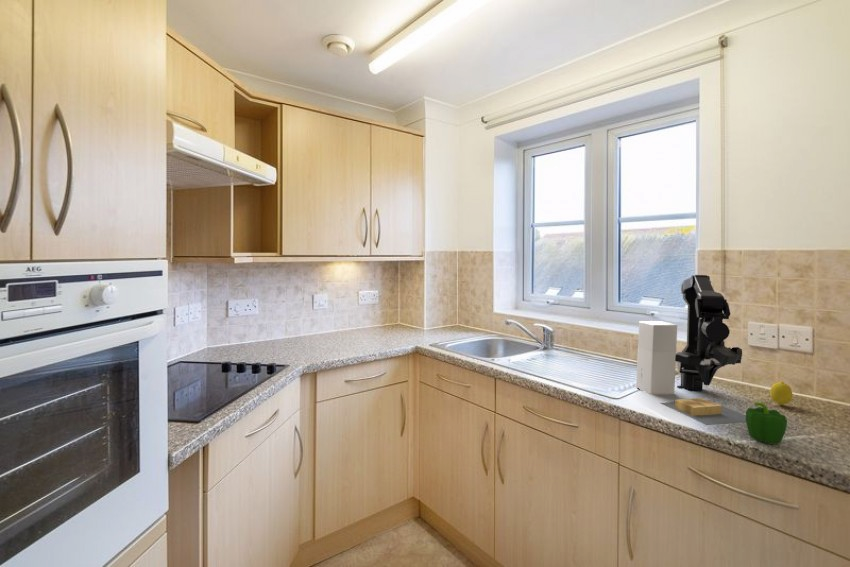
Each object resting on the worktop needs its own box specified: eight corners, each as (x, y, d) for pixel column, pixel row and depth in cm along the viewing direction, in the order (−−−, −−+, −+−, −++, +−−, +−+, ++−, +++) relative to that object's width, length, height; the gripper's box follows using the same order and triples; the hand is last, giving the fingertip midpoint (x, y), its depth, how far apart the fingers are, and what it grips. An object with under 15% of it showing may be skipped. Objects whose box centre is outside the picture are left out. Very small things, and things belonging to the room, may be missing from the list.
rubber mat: (659, 404, 135) (659, 402, 135) (707, 401, 138) (707, 399, 138) (706, 426, 117) (706, 424, 117) (759, 422, 120) (759, 420, 120)
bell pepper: (787, 440, 109) (789, 403, 108) (784, 450, 103) (786, 411, 102) (747, 431, 115) (749, 395, 114) (742, 440, 109) (744, 403, 108)
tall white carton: (635, 388, 152) (638, 321, 150) (658, 387, 153) (661, 320, 151) (650, 396, 143) (653, 324, 142) (674, 395, 144) (677, 324, 142)
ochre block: (702, 405, 132) (674, 407, 131) (702, 398, 132) (675, 399, 130) (721, 413, 125) (692, 415, 124) (721, 405, 125) (693, 407, 124)
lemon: (795, 409, 131) (796, 384, 131) (773, 407, 133) (775, 383, 133) (786, 403, 136) (788, 380, 136) (766, 401, 138) (767, 378, 138)
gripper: (705, 341, 117) (702, 395, 118) (759, 339, 121) (756, 391, 122) (675, 334, 128) (672, 383, 129) (725, 332, 132) (723, 380, 133)
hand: (706, 385), depth 128 cm, fingers closed
